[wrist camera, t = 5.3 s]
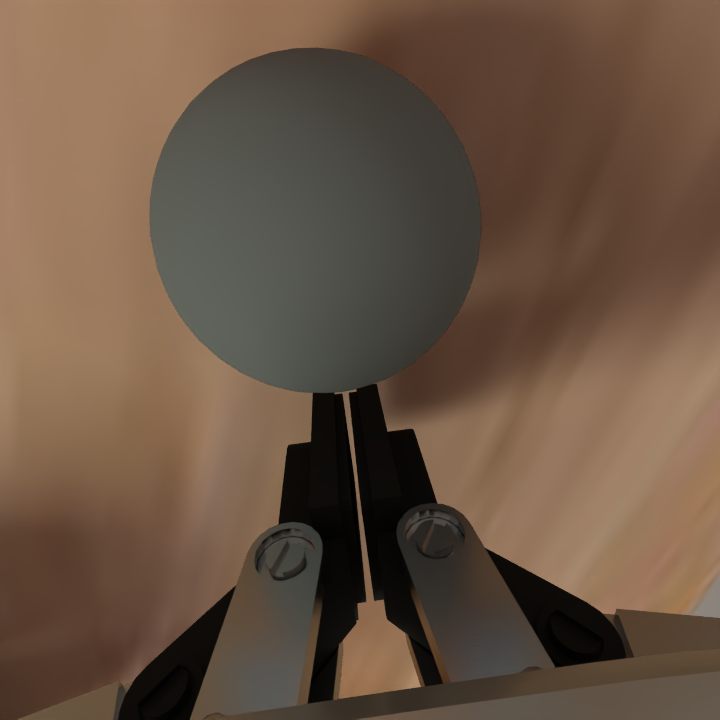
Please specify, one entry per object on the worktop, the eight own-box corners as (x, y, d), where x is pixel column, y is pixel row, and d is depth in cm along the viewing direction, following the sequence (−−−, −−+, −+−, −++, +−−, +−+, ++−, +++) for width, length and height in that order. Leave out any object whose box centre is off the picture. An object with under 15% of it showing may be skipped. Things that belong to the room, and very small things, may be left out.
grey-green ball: (604, 262, 4) (472, -64, 6) (29, 338, 4) (81, -26, 6) (471, 404, 9) (423, 203, 11) (220, 439, 9) (214, 228, 11)
